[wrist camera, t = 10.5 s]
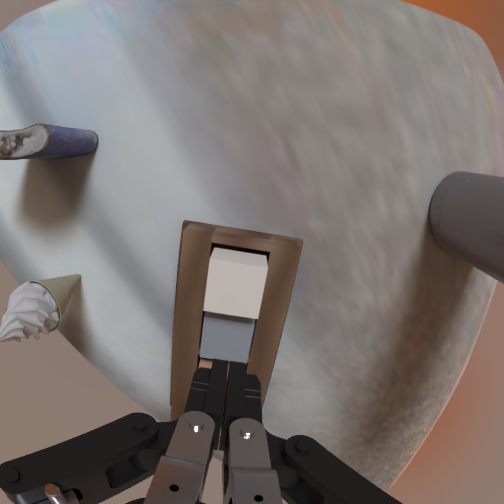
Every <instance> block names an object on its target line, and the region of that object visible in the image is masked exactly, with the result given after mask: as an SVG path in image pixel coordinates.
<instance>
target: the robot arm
mask: <svg viewBox="0 0 504 504" xmlns="http://www.w3.org/2000/svg"><path fill="white" fill-rule="evenodd" d="M430 225H431V230H432V233H433V236H434V238H435V240H436V242H437V243H438V245H439V246H440V247H441V248H442V249H444V250H445V251H447V252H449V253H451V254H453V255H455V256H456V257H458V258H460V259H462V260H463V261H465V262H467V263H468V264H470V265H472V266H474V267H476V268H477V269H479V270H481V271H482V272H484V273H486V274H488V275H489V276H491V277H493V278H494V279H496V280H498V281H500V282H501V283H503V284H504V177H499V176H492V175H486V174H478V173H469V172H455V173H452V174H450V175H448V176H447V177H446V178H445V179H444V180H442V182H441V183H440V184H439V186H438V187H437V189H436V191H435V193H434V195H433V199H432V202H431V207H430ZM228 364H229V360H222V359H216V358H213V362H212V367H211V369H210V368H204V367H200V368H198V369H197V370H196V371H195V372H194V375H193V378H192V382H191V386H190V390H189V394H188V399H187V403H186V407H185V411H184V413H183V414H182V415H181V416H180V418H178V419H177V420H174V421H171V422H156V420H155V419H154V418H153V417H151V416H150V415H148V414H145V413H131V414H129V415H126V416H124V417H122V418H120V419H117V420H115V421H113V422H111V423H109V424H106V425H104V426H102V427H99V428H97V429H94V430H92V431H89V432H87V433H85V434H82V435H80V436H77V437H75V438H72V439H70V440H67V441H64V442H62V443H59V444H57V445H54V446H51V447H48V448H46V449H43V450H40V451H37V452H34V453H32V454H28V455H26V456H23V457H19V458H16V459H13V460H10V461H7V462H4V463H2V464H1V465H0V488H1V489H2V490H3V491H4V492H5V494H6V495H7V497H8V498H9V499H10V501H12V503H13V504H98V503H100V502H102V501H105V500H107V499H109V498H111V497H113V496H115V495H117V494H119V493H121V492H123V491H124V490H126V489H128V488H130V487H132V486H134V485H136V484H138V483H139V482H141V481H143V480H145V479H147V478H148V477H150V476H152V475H154V476H153V479H152V482H151V484H150V487H149V490H148V492H147V495H146V498H140V499H136V500H133V501H130V502H128V503H126V504H205V503H202V502H201V499H202V494H203V490H204V485H205V481H206V477H207V471H208V468H209V463H210V461H211V459H212V454H213V449H214V450H217V449H218V443H219V437H220V445H219V450H222V451H224V458H223V463H222V484H223V504H283V503H282V498H283V499H284V500H285V501H286V502H287V503H288V504H402V503H401V502H399V501H398V500H396V499H394V498H393V497H391V496H390V495H388V494H387V493H386V492H384V491H383V490H381V489H380V488H378V487H377V486H375V485H374V484H373V483H371V482H370V481H368V480H367V479H365V478H364V477H363V476H361V475H360V474H358V473H357V472H356V471H354V470H353V469H352V468H350V467H349V466H348V465H346V464H345V463H344V462H342V461H341V460H340V459H338V458H337V457H336V456H334V455H333V454H332V453H331V452H329V451H328V450H327V449H325V448H324V447H323V446H322V445H320V444H319V443H318V442H317V441H315V440H314V439H312V438H311V437H308V436H304V435H296V436H292V437H290V438H289V439H288V440H286V439H282V438H279V437H276V436H274V435H272V434H270V433H269V432H268V431H267V430H266V429H265V428H264V426H263V423H262V403H261V382H260V381H259V379H258V377H257V376H256V375H254V374H246V363H244V362H237V361H230V364H229V370H228ZM227 373H228V376H227ZM220 431H221V435H220ZM281 497H282V498H281Z"/></svg>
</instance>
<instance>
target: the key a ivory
mask: <svg viewBox="0 0 504 504" xmlns="http://www.w3.org/2000/svg"><path fill="white" fill-rule="evenodd" d="M267 271H268V264H267V258H266V256H265V255H258V254H252V253H246V252H240V251H234V250H227V249H221V248H215V247H214V250H213V252H212V255H211V257H210V261H209V269H208V276H207V284H206V292H205V300H204V309H203V311H208V312H214V313H221V314H227V315H233V316H240V317H246V318H253V319H258V316H259V311H260V306H261V301H262V296H263V291H264V286H265V281H266V276H267Z"/></svg>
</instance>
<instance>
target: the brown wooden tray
mask: <svg viewBox="0 0 504 504" xmlns="http://www.w3.org/2000/svg"><path fill="white" fill-rule="evenodd" d="M302 245H303V241H302V239H297V238H292V237H286V236H280V235H274V234H268V233H262V232H256V231H250V230H244V229H237V228H231V227H225V226H219V225H212V224H206V223H200V222H193V221H187V220H185V221H184V222H183V225H182V233H181V242H180V252H179V262H178V272H177V284H176V296H175V309H174V324H173V341H172V363H171V396H170V405H171V421H174V420H177V419H178V418H180V416H181V415H182V414H183V413H184V411H185V407H186V403H187V399H188V394H189V390H190V386H191V382H192V378H193V375H194V372H195V371H196V370H197V369H198V368H199V364H200V360H201V359H207V360H213V359H209V358H203V357H200V349H201V340H202V331H203V322H204V315H205V312H206V311H203V309H204V300H205V292H206V284H207V276H208V269H209V261H210V257H211V255H212V252H213V250H214V247H215V248H221V249H227V250H234V251H240V252H246V253H252V254H258V255H265V256H266V258H267V264H268V271H267V276H266V281H265V286H264V291H263V296H262V301H261V306H260V311H259V316H258V319H255V326H254V331H253V336H252V340H251V345H250V350H249V355H248V360H247V364H246V374H254V375H256V376H257V377H258V379H259V381H260V382H261V403H262V407H263V403H264V400H265V396H266V393H267V389H268V385H269V382H270V378H271V374H272V370H273V367H274V363H275V359H276V355H277V351H278V347H279V343H280V339H281V335H282V331H283V327H284V323H285V319H286V315H287V311H288V307H289V303H290V298H291V294H292V290H293V286H294V281H295V277H296V272H297V268H298V264H299V259H300V254H301V250H302ZM229 363H230V362H229Z"/></svg>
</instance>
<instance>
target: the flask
mask: <svg viewBox="0 0 504 504" xmlns="http://www.w3.org/2000/svg"><path fill="white" fill-rule="evenodd" d="M97 145H98V135H97V134H96V133H95V132H94V131H91V130H82V129H75V128H67V127H60V126H53V125H47V124H35V125H32V126H30V127H27V128H24V129H20V130H12V131H0V160H18V159H32V158H64V157H74V156H81V155H86V154H88V153H91V152H93V151H94V150H95V149H96V147H97Z"/></svg>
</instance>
